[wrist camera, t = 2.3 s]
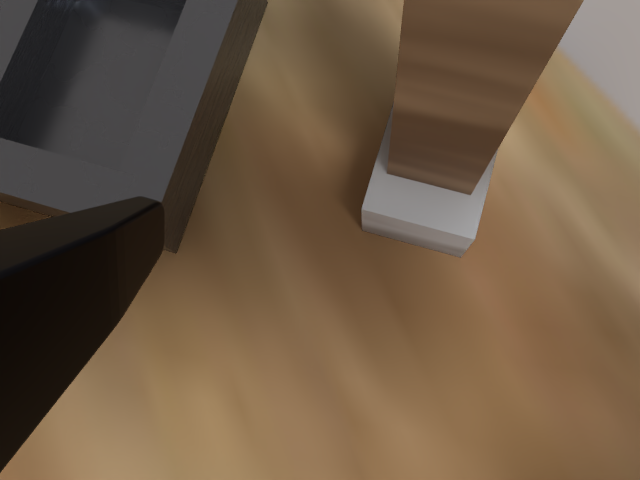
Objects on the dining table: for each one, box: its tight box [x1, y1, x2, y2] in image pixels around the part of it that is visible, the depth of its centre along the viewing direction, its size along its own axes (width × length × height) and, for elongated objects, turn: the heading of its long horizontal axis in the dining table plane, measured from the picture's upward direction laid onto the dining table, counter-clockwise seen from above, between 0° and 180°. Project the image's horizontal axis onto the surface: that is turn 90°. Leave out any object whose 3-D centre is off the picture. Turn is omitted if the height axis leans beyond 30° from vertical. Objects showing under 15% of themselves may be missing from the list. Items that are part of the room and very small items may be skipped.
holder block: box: [0, 0, 268, 253], centre depth 24 cm, size 12×10×3 cm
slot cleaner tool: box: [361, 0, 583, 258], centre depth 16 cm, size 6×4×14 cm, turn 163°
